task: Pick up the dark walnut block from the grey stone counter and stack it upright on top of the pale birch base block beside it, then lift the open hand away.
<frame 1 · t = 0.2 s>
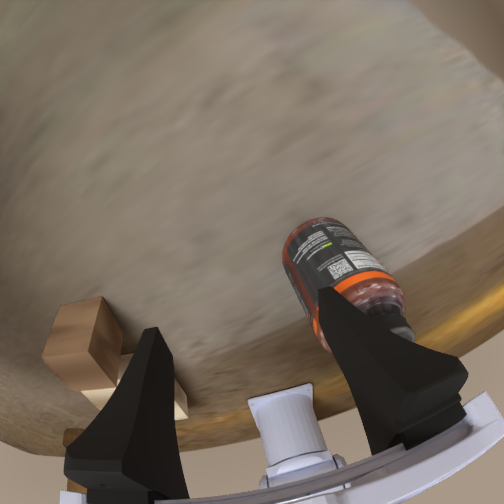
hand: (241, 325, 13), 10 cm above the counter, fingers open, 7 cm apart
birch base block: (134, 381, 29), on the counter
supplement bottle: (315, 246, 24), on the counter
walnut block: (92, 319, 24), on the counter
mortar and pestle: (84, 436, 36), on the counter
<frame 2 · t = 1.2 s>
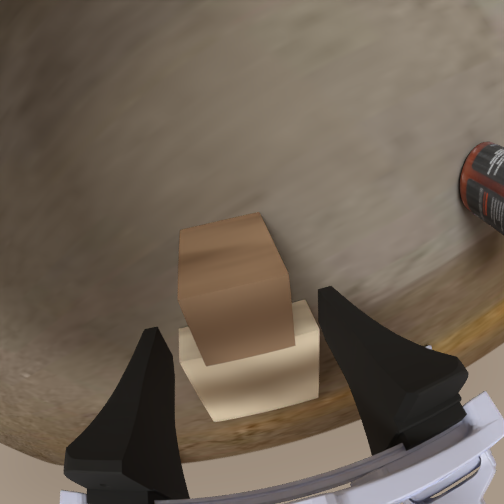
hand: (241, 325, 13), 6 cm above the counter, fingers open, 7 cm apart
birch base block: (251, 354, 23), on the counter
supplement bottle: (477, 174, 19), on the counter
walnut block: (227, 254, 18), on the counter
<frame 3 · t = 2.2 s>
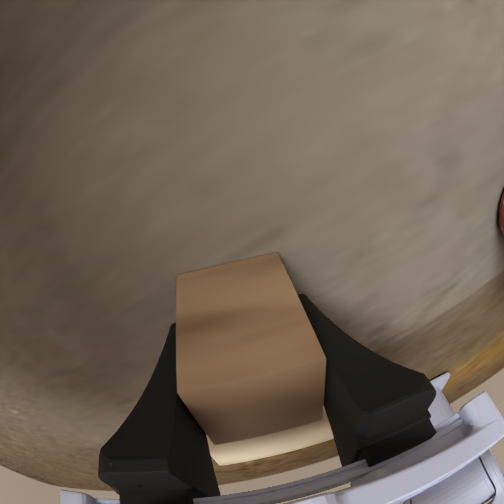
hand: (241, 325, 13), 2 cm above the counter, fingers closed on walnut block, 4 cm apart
birch base block: (262, 398, 20), on the counter
walnut block: (236, 301, 15), on the counter, touching gripper
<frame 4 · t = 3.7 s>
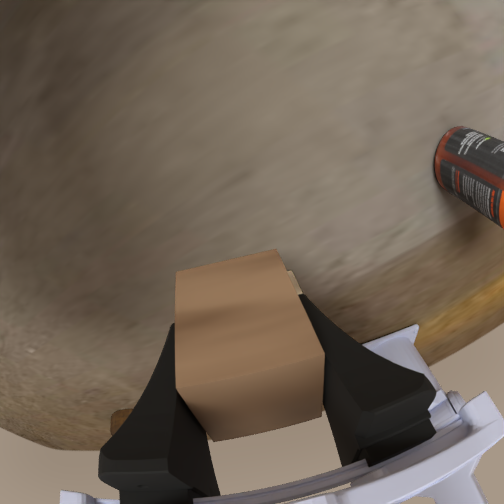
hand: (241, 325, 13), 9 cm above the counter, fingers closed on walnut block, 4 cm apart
supplement bottle: (453, 156, 21), on the counter
walnut block: (235, 298, 15), point 7 cm above the counter, touching gripper
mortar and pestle: (137, 419, 32), on the counter
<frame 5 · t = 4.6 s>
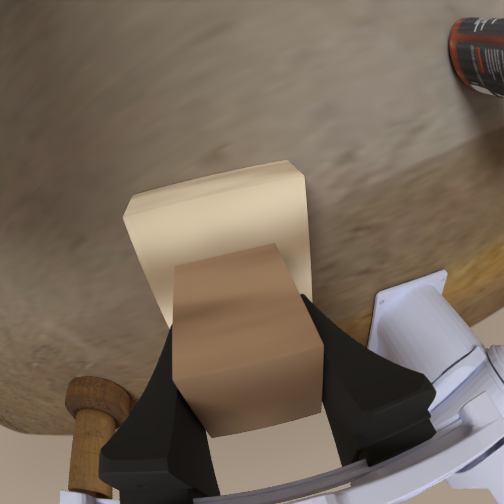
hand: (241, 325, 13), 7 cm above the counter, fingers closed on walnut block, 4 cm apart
birch base block: (224, 243, 19), on the counter
supplement bottle: (468, 53, 15), on the counter
walnut block: (234, 293, 15), point 5 cm above the counter, touching gripper
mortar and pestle: (99, 392, 26), on the counter
when the fingers open (6 cm above the counter, at t = 5.2 s): walnut block drops 1 cm, resting on birch base block.
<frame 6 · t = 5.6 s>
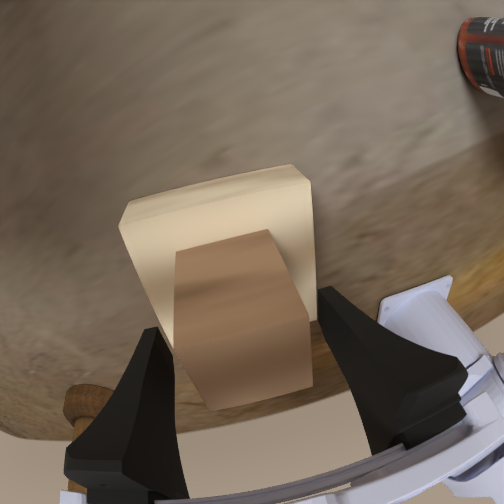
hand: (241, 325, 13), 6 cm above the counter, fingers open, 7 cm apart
birch base block: (225, 251, 18), on the counter
supplement bottle: (477, 54, 14), on the counter
walnut block: (231, 277, 16), point 3 cm above the counter, touching birch base block
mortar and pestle: (97, 400, 25), on the counter
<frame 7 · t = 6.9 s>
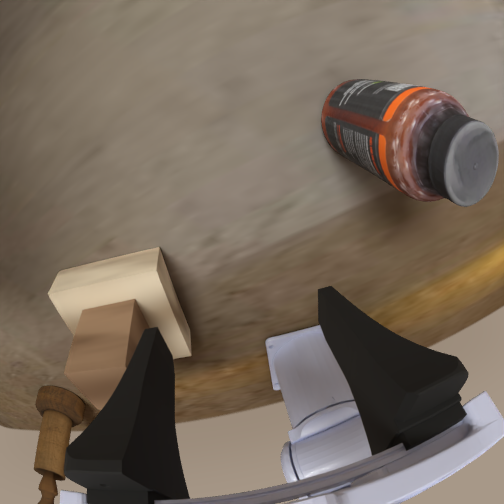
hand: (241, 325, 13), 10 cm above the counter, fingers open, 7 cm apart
birch base block: (125, 303, 24), on the counter
supplement bottle: (355, 117, 20), on the counter
walnut block: (119, 326, 22), point 3 cm above the counter, touching birch base block
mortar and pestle: (61, 398, 31), on the counter
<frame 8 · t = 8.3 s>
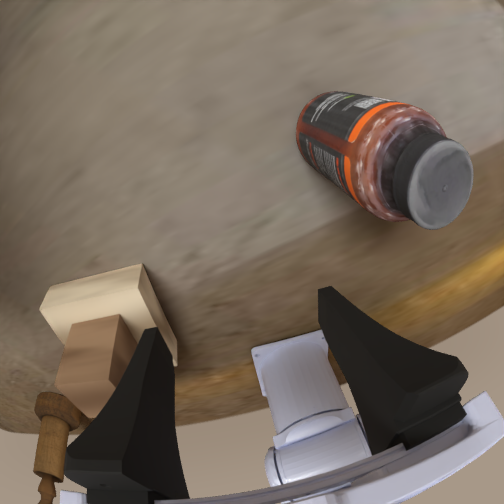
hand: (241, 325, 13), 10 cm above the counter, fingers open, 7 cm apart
birch base block: (114, 315, 25), on the counter
supplement bottle: (332, 130, 20), on the counter
walnut block: (107, 338, 22), point 3 cm above the counter, touching birch base block
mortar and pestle: (59, 403, 31), on the counter
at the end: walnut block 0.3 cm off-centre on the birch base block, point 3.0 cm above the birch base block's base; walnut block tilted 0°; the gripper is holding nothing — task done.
